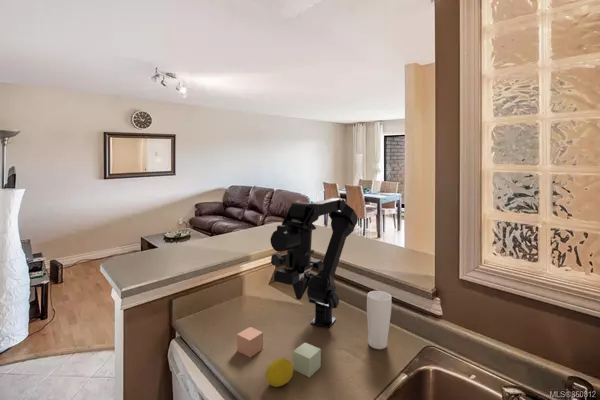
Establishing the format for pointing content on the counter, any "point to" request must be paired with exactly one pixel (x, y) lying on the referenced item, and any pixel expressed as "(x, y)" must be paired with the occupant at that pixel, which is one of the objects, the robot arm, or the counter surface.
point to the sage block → (306, 359)
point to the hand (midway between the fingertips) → (298, 299)
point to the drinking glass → (378, 318)
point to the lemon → (279, 372)
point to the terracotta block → (250, 341)
